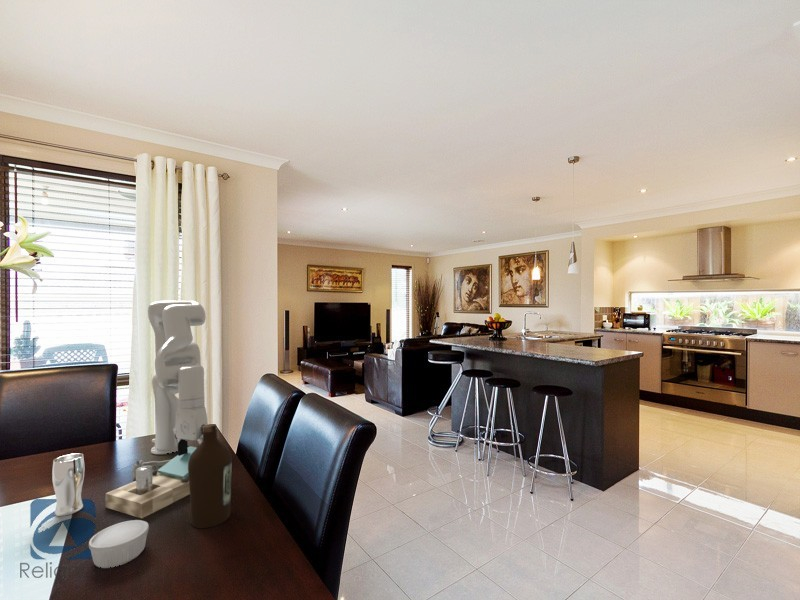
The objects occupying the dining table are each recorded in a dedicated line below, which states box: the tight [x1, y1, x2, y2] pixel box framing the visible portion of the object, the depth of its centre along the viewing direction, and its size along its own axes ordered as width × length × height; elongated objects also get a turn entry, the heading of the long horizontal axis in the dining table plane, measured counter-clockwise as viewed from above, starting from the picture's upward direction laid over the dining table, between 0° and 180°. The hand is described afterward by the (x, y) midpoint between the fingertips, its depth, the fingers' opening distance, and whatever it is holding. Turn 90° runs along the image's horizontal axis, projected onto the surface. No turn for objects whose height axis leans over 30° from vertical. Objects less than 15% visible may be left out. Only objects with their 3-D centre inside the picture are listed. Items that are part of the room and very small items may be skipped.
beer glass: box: [51, 452, 85, 517], centre depth 110 cm, size 7×7×15 cm
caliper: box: [132, 459, 171, 481], centre depth 137 cm, size 20×1×6 cm, turn 147°
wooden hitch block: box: [105, 469, 190, 519], centre depth 118 cm, size 16×22×5 cm
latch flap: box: [156, 445, 197, 478], centre depth 126 cm, size 12×12×1 cm
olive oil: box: [188, 423, 233, 529], centre depth 104 cm, size 11×11×25 cm
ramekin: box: [88, 519, 150, 569], centre depth 89 cm, size 11×11×5 cm
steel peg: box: [135, 466, 153, 495], centre depth 113 cm, size 4×4×10 cm
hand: (193, 455), depth 127 cm, fingers open, 9 cm apart
